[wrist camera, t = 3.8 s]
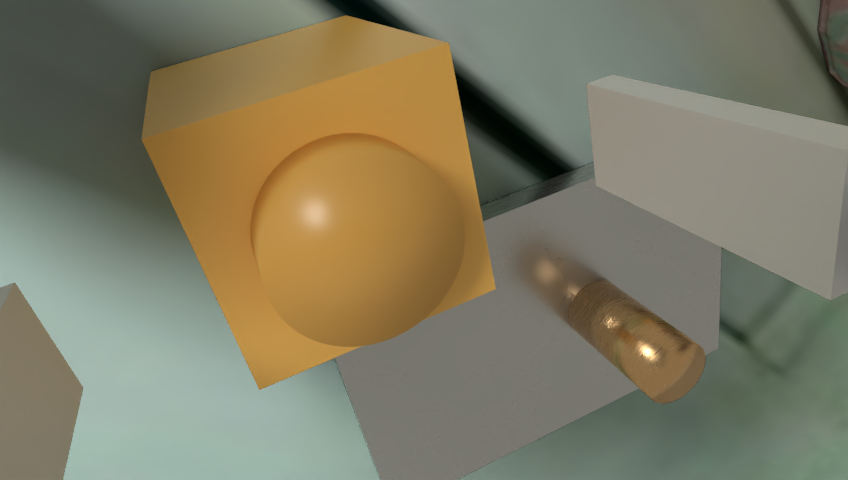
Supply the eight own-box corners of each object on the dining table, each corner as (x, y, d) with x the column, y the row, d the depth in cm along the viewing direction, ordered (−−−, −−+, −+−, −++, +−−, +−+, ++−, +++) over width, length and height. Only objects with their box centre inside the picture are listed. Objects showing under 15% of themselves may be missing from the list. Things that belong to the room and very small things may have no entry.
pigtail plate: (384, 491, 27) (436, 616, 22) (302, 274, 22) (347, 373, 16) (700, 336, 31) (808, 410, 26) (703, 119, 26) (841, 159, 20)
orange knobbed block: (227, 247, 20) (269, 434, 12) (150, 71, 17) (138, 162, 9) (391, 187, 22) (527, 319, 13) (345, 15, 19) (482, 52, 11)
